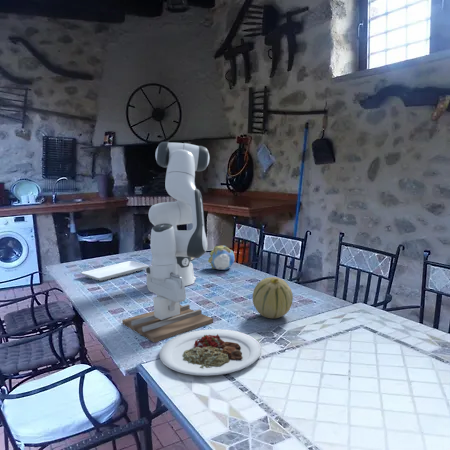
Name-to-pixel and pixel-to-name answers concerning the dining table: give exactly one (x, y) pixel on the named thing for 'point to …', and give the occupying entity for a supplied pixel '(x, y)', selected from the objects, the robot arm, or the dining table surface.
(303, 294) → the dining table surface
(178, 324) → the rail panel
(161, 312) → the rail module
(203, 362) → the plated food
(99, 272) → the tray
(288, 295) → the cantaloupe
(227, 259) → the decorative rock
